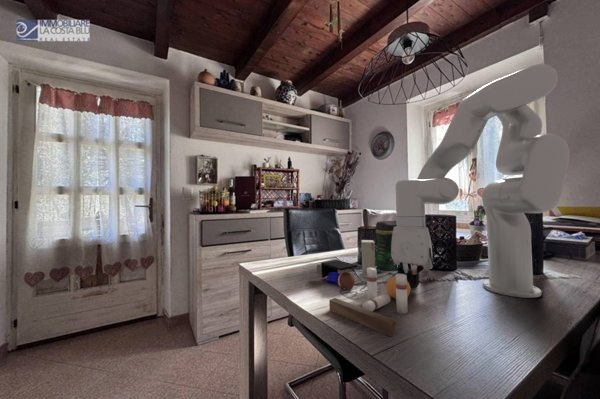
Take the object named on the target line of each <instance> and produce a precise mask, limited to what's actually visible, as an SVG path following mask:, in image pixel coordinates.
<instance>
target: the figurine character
mask: <svg viewBox="0 0 600 399" xmlns="http://www.w3.org/2000/svg"><path fill="white" fill-rule="evenodd" d="M355 268H358V265H357V264H354V263H350V262H348V261H347V262H346V261H342V260H338V259H334V260H328V261H324V262H323V261H322V262H321V263H320V264H317V265H316V272H317V273H318V275H320V276H321V278H323V279H322V280H323V281H325V282H332V283H335V284H338V286H339V287H340V288H341V289H343V290H350V289H352V288H353V287H354V286H355V282H356V280H355V276H354V275H353V274H352V273H350V272H347V271H346V272H345V270H350V269H355ZM339 271H344V272H342V273H339Z"/></svg>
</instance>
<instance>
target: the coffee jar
mask: <svg viewBox="0 0 600 399" xmlns="http://www.w3.org/2000/svg"><path fill="white" fill-rule="evenodd" d="M394 227H397V225H396V223H395V222H393V220H381V221H377V222H376V223H375V233H376V237H377V238H376V239H377V240H376V241H377V242H376V245H377V246H376V256H375V267H377V268H378V269H379V270H385V271H395V270H398V269H397V268H398V267H397V264H395V263H394V262H393V261H394V260H393V259H392V256H391V245H392V235H393V229H394Z"/></svg>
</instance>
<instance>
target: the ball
mask: <svg viewBox="0 0 600 399" xmlns="http://www.w3.org/2000/svg"><path fill="white" fill-rule="evenodd" d="M385 289H386V292H387V294H388V295H389V297H390V298H392V299H395V300H396V275H393V276H391V277H390V278H388V279H387V281H386V285H385ZM410 294H411V287H410V285H409V283H408V281H407V298H408V297H409V295H410Z"/></svg>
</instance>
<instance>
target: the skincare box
mask: <svg viewBox="0 0 600 399" xmlns="http://www.w3.org/2000/svg"><path fill="white" fill-rule="evenodd" d="M360 243H361V245H360V246H361V273H362V278H366V279H367V268H376V250H375V249H376V247H375V245H376V244H375V243H376V242H375V241H374V240H372V239H361V242H360Z"/></svg>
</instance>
